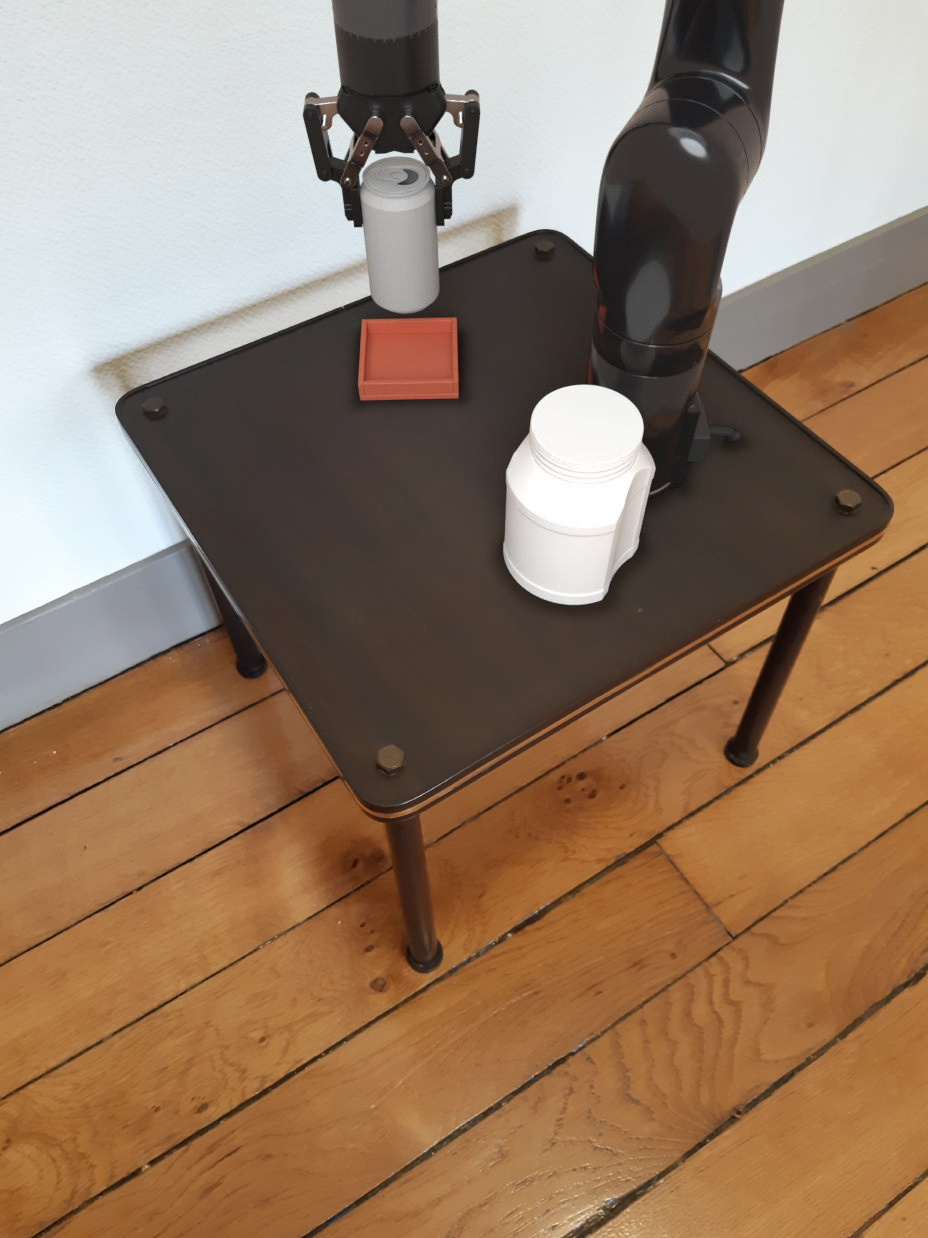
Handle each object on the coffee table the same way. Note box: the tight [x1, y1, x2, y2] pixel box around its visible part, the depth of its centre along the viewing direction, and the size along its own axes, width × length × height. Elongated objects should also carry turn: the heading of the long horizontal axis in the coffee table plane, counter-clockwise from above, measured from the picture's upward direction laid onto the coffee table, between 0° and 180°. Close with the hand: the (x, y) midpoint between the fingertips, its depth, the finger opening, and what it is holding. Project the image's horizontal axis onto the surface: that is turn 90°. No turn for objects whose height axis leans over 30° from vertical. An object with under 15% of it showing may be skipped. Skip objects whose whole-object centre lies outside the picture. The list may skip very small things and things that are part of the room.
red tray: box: [357, 316, 460, 401], centre depth 93 cm, size 10×10×2 cm
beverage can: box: [359, 155, 440, 315], centre depth 82 cm, size 6×6×12 cm
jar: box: [502, 384, 656, 606], centre depth 75 cm, size 12×10×15 cm
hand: (399, 220), depth 81 cm, fingers closed on beverage can, 6 cm apart
